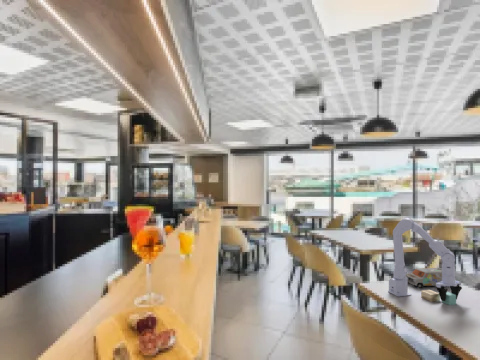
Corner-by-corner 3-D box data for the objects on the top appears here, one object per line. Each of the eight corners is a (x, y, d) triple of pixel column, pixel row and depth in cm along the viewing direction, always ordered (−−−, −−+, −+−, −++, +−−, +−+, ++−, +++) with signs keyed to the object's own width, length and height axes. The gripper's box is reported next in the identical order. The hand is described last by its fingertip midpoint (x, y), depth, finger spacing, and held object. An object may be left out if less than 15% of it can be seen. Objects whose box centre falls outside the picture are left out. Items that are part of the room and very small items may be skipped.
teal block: (449, 305, 150) (449, 295, 150) (441, 301, 154) (441, 292, 154) (456, 304, 151) (456, 294, 151) (448, 301, 155) (448, 291, 156)
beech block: (431, 302, 154) (431, 294, 154) (421, 297, 160) (421, 290, 160) (439, 300, 156) (439, 293, 156) (429, 296, 162) (429, 289, 162)
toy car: (404, 282, 184) (403, 267, 184) (440, 281, 186) (440, 266, 186) (415, 288, 174) (415, 272, 174) (453, 287, 175) (453, 271, 176)
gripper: (444, 277, 147) (444, 304, 147) (466, 275, 151) (466, 301, 150) (432, 273, 154) (432, 298, 154) (453, 271, 158) (454, 296, 157)
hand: (448, 299), depth 153 cm, fingers open, 7 cm apart
